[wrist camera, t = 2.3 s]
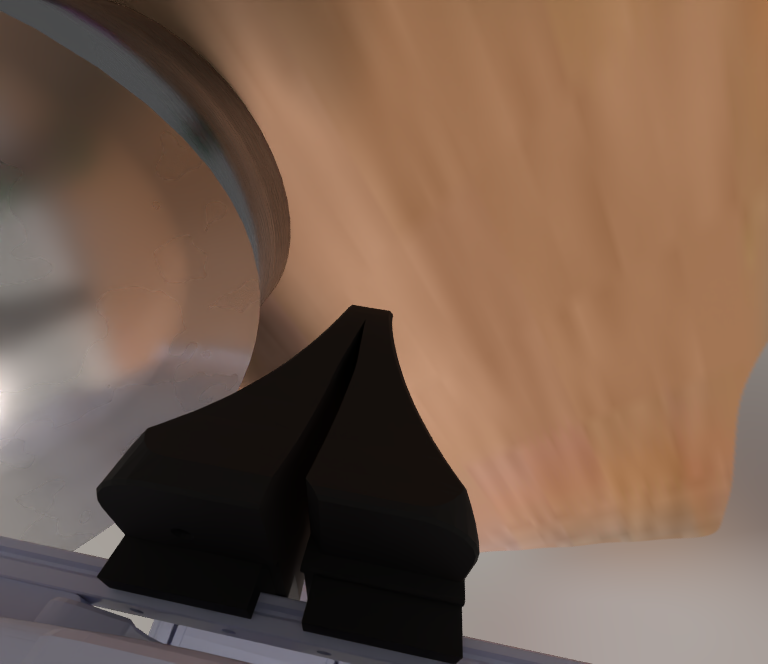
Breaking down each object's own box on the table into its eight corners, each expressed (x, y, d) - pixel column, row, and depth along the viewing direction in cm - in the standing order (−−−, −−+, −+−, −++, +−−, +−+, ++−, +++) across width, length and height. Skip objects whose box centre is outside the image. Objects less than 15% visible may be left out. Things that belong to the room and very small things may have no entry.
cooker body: (299, 337, 23) (268, 393, 19) (76, 300, 24) (3, 345, 20) (263, -122, 11) (164, -222, 7) (-174, -159, 12) (-467, -264, 8)
